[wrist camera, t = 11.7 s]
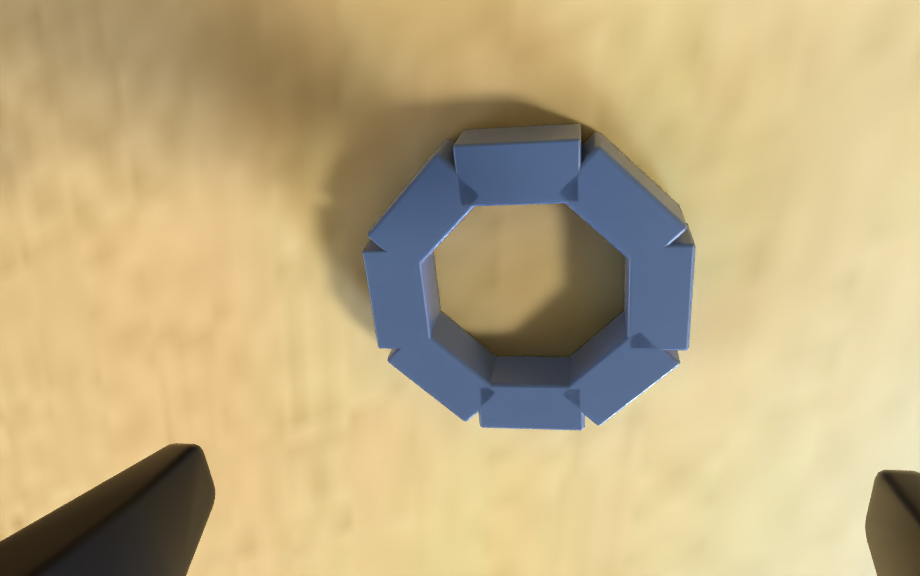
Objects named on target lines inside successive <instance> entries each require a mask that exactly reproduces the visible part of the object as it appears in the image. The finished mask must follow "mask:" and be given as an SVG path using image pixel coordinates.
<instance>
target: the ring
mask: <svg viewBox="0 0 920 576" xmlns="http://www.w3.org/2000/svg"><path fill="white" fill-rule="evenodd" d="M557 203H565V204H566V205H568V206H569V207H570V208H571V209H572V210H573V211H574V212H575V213H577V214H578V215H579V216H580V217H581V218H582V219H583V220H584V221H586V222H587V223H588V224H589V225H590V226H591V227H592V228H593V229H595V230H596V231H597V232H598V233H599V234H600V235H601V236H602V237H604V238H605V239H606V240H607V241H608V242H609V243H610V244H612V245H613V246H614V247H615V248H616V249H617V250H618V251H619V252H621V253H622V254H623V255H624V256H625V290H624V311H623V312H622V313H621V314H619V315H618V316H617V317H616V318H615V319H613V320H612V321H611V322H610V323H609V324H608V325H606V326H605V327H604V328H603V329H602V330H600V331H599V332H598V333H597V334H596V335H595V336H593V337H592V338H591V339H590V340H589V341H588V342H586V343H585V344H584V345H583V346H582V347H580V348H579V349H578V350H577V351H576V352H575V353H573V354H572V355H571V356H570V357H548V356H495V355H494V354H493V353H492V352H490V351H489V350H488V349H487V348H486V347H484V346H483V345H482V344H481V343H479V342H478V341H477V340H476V339H474V338H473V337H472V336H471V335H470V334H468V333H467V332H466V331H465V330H463V329H462V328H461V327H460V326H458V325H457V324H456V323H455V322H453V321H452V320H451V319H450V318H449V317H447V316H446V315H445V314H444V313H442V312H441V310H440V301H439V293H438V284H437V275H436V267H435V258H434V250H435V249H436V248H437V247H438V245H439V244H440V243H441V242H442V241H443V240H444V239H445V238H446V237H447V236H448V235H449V234H450V233H451V231H452V230H453V229H454V228H455V227H456V226H457V225H458V224H459V223H460V222H461V221H462V220H463V218H464V217H465V216H466V215H467V214H468V213H469V212H470V211H471V210H472V209H473V208H474V207H475V206H493V205H525V204H557ZM368 237H369V239H371V240H370V241H369V243H368V244H367V246H366V247H365V248H364V250H363V252H362V253H363V259H364V265H365V271H366V277H367V283H368V289H369V295H370V301H371V307H372V313H373V319H374V325H375V331H376V337H377V343H378V347H379V348H389V349H392V350H391V352H390V354H389V357H388V362H389V363H390V364H392V365H393V366H394V367H395V368H397V369H398V370H399V371H400V372H402V373H403V374H404V375H406V376H407V377H408V378H409V379H411V380H412V381H413V382H415V383H416V384H417V385H418V386H420V387H421V388H422V389H424V390H425V391H426V392H427V393H429V394H430V395H431V396H433V397H434V398H435V399H436V400H438V401H439V402H440V403H441V404H443V405H444V406H445V407H447V408H448V409H449V410H450V411H452V412H453V413H454V414H456V415H457V416H458V417H459V418H461V419H462V420H463V421H468V420H469V419H470V418H471V417H473V416H474V415H475V414H476V413H477V412H478V411H479V421H480V425H481V427H483V428H515V429H550V430H583V429H584V427H585V415H586V416H587V417H588V418H589V419H590V420H592V421H593V422H594V423H595V424H597V425H598V426H599V425H601V424H603V423H604V422H605V421H607V420H608V419H609V418H611V417H612V416H613V415H614V414H616V413H617V412H618V411H620V410H621V409H622V408H624V407H625V406H626V405H628V404H629V403H630V402H631V401H633V400H634V399H635V398H637V397H638V396H639V395H641V394H642V393H643V392H645V391H646V390H647V389H648V388H650V387H651V386H652V385H654V384H655V383H656V382H658V381H659V380H660V379H662V378H663V377H664V376H665V375H667V374H668V373H669V372H671V371H672V370H673V369H675V368H676V367H677V366H679V364H680V360H679V356H678V351H677V350H688V348H689V338H690V323H691V308H692V292H693V277H694V261H695V244H694V241H693V238H692V235H691V233H690V230H689V227H688V224H687V223H686V222H685V220H684V217H683V214H682V212H681V209H680V206H679V205H678V204H677V203H676V202H675V201H674V200H673V199H672V198H671V197H670V196H669V195H668V194H667V193H665V192H664V191H663V190H662V189H661V188H660V187H659V186H658V185H657V184H656V183H655V182H654V181H653V180H651V179H650V178H649V177H648V176H647V175H646V174H645V173H644V172H643V171H642V170H641V169H640V168H638V167H637V166H636V165H635V164H634V163H633V162H632V161H631V160H630V159H629V158H628V157H627V156H625V155H624V154H623V153H622V152H621V151H620V150H619V149H618V148H617V147H616V146H615V145H614V144H612V143H611V142H610V141H609V140H608V139H607V138H606V137H605V136H604V135H603V134H602V133H599V132H596V133H594V134H593V135H592V136H591V137H590V138H589V139H588V140H587V141H586V142H585V143H584V144H583V145H582V146H581V125H580V124H560V125H541V126H522V127H503V128H484V129H465V130H463V131H462V133H461V134H460V136H459V137H458V139H457V140H456V142H455V143H454V142H453V141H451V140H450V139H446V140H444V142H443V143H442V144H441V145H440V146H439V147H438V149H437V150H436V151H435V152H434V153H433V155H432V156H431V157H430V158H429V159H428V160H427V162H426V163H425V164H424V165H423V166H422V167H421V169H420V170H419V171H418V172H417V173H416V175H415V176H414V177H413V178H412V179H411V180H410V182H409V183H408V184H407V185H406V186H405V188H404V189H403V190H402V191H401V192H400V193H399V195H398V196H397V197H396V198H395V199H394V201H393V202H392V203H391V204H390V205H389V206H388V208H387V209H386V210H385V211H384V212H383V214H382V215H381V216H380V217H379V219H378V220H377V222H376V223H375V224H374V226H373V227H372V228H371V230H370V231H369V232H368Z"/></svg>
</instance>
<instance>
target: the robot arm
mask: <svg viewBox="0 0 920 576" xmlns="http://www.w3.org/2000/svg"><path fill="white" fill-rule="evenodd" d="M214 500H215V486H214V483H213V480H212V477H211V473H210V470H209V467H208V464H207V461H206V458H205V455H204V452H203V450H202V449H201V447H200V446H198V445H196V444H178V443H176V444H170V445H168V446H166V447H164V448H162V449H161V450H159V451H157V452H156V453H154V454H152V455H150V456H149V457H147V458H145V459H143V460H142V461H140V462H138V463H136V464H135V465H133V466H131V467H129V468H128V469H126V470H124V471H122V472H121V473H119V474H117V475H115V476H114V477H112V478H110V479H108V480H107V481H105V482H103V483H102V484H100V485H98V486H96V487H95V488H93V489H91V490H89V491H88V492H86V493H84V494H82V495H81V496H79V497H77V498H75V499H74V500H72V501H70V502H68V503H67V504H65V505H63V506H61V507H60V508H58V509H56V510H54V511H53V512H51V513H49V514H47V515H46V516H44V517H42V518H41V519H39V520H37V521H35V522H34V523H32V524H30V525H28V526H27V527H25V528H23V529H21V530H20V531H18V532H16V533H14V534H13V535H11V536H9V537H7V538H6V539H4V540H2V541H0V576H186V574H187V572H188V569H189V566H190V564H191V561H192V559H193V556H194V554H195V551H196V548H197V546H198V543H199V541H200V538H201V536H202V533H203V530H204V528H205V525H206V523H207V520H208V518H209V515H210V512H211V510H212V507H213V504H214ZM865 529H866V537H867V541H868V545H869V549H870V552H871V555H872V559H873V562H874V566H875V569H876V573H877V576H920V473H918V472H915V471H903V470H883V471H881V472H879V473H878V474H877V476H876V478H875V481H874V485H873V490H872V494H871V499H870V503H869V507H868V512H867V516H866V523H865Z"/></svg>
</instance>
